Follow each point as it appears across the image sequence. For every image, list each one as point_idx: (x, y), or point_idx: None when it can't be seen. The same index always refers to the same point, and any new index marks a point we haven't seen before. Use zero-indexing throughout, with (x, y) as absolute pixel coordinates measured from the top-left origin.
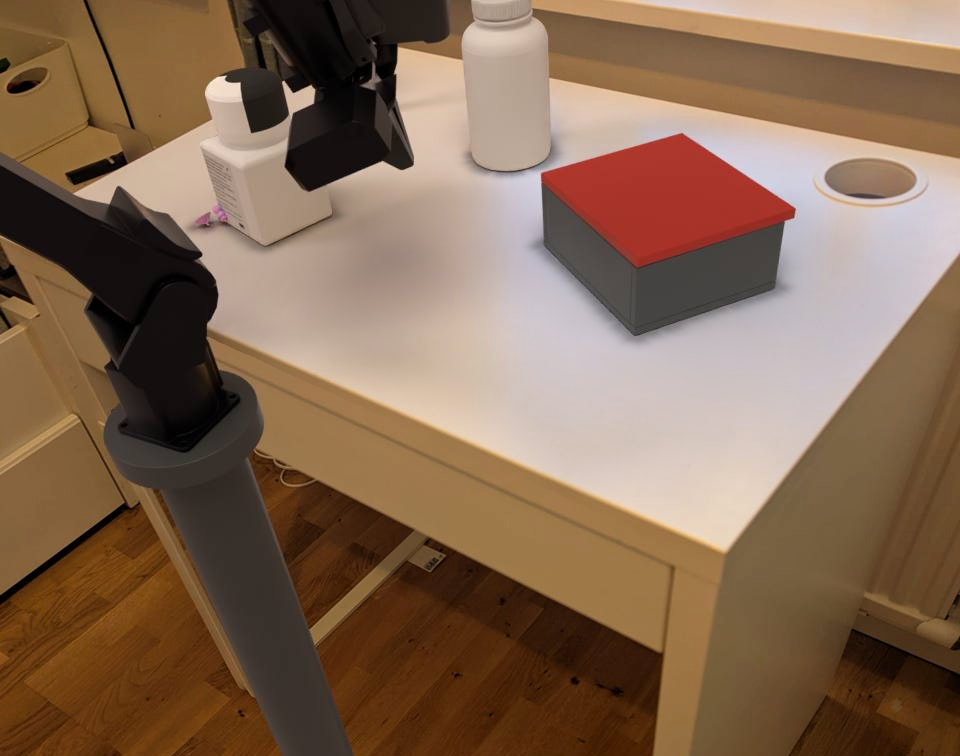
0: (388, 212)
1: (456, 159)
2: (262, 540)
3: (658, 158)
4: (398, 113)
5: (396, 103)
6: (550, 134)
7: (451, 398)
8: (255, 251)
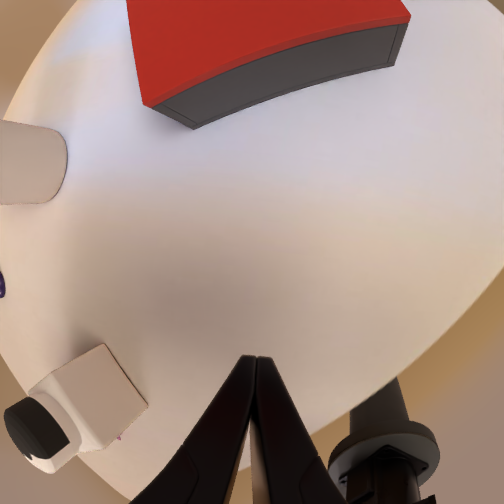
0: (103, 292)
1: (43, 217)
2: (394, 385)
3: None
4: (216, 459)
5: (186, 473)
6: (42, 127)
7: (459, 269)
8: (154, 412)
